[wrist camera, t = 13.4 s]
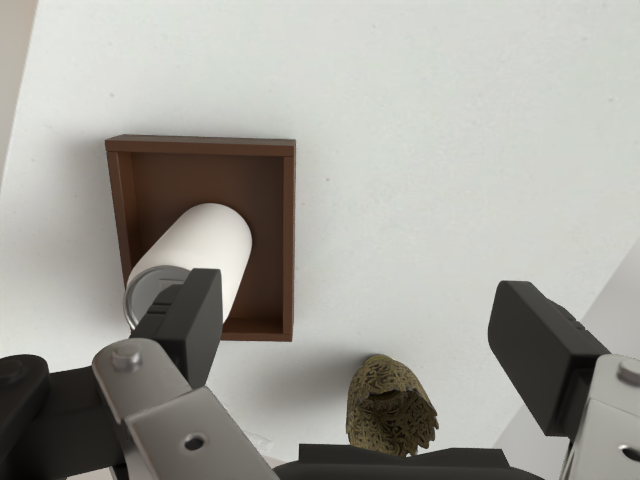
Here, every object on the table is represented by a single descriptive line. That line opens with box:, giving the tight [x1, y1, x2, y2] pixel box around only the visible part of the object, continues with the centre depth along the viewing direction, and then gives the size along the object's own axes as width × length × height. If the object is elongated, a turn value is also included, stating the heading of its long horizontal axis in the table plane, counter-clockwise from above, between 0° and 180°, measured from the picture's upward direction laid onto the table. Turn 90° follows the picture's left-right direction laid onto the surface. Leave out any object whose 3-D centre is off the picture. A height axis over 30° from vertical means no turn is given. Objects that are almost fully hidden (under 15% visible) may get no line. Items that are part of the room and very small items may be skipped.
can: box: [123, 203, 252, 331], centre depth 31 cm, size 6×6×12 cm
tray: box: [105, 134, 296, 342], centre depth 36 cm, size 17×14×3 cm
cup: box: [346, 355, 439, 457], centre depth 39 cm, size 8×7×8 cm
